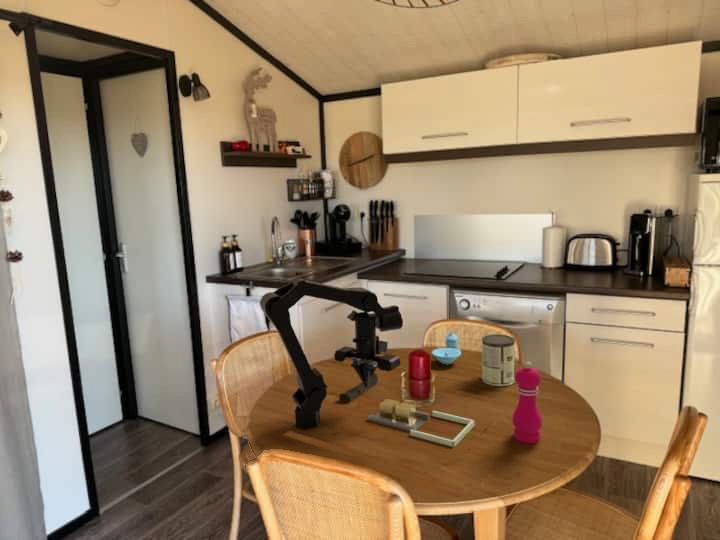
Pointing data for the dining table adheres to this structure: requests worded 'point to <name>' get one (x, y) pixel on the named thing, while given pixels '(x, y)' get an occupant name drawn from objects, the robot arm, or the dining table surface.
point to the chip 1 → (388, 408)
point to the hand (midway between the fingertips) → (367, 387)
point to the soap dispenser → (448, 350)
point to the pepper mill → (527, 405)
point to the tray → (445, 441)
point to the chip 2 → (405, 413)
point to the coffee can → (498, 360)
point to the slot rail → (420, 420)
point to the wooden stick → (357, 390)
